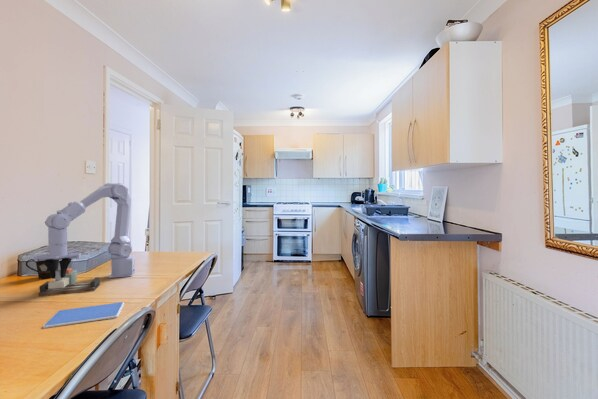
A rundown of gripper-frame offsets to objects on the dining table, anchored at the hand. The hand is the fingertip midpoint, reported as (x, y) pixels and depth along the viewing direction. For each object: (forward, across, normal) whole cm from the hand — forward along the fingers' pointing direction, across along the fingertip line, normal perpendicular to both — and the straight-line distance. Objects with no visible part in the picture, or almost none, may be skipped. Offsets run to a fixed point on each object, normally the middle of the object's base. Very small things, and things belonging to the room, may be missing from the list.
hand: (58, 277), depth 113 cm
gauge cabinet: (+6, -1, +9) cm, 11 cm away
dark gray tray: (+6, +4, 0) cm, 7 cm away
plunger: (+3, -1, +9) cm, 10 cm away
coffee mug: (+6, -14, +24) cm, 28 cm away
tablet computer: (+6, +18, -29) cm, 35 cm away
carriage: (+4, 0, 0) cm, 4 cm away
